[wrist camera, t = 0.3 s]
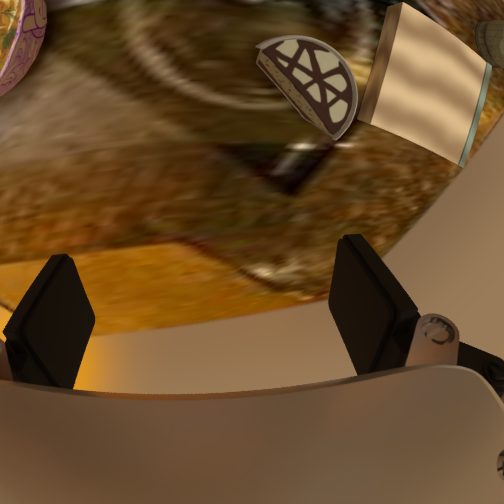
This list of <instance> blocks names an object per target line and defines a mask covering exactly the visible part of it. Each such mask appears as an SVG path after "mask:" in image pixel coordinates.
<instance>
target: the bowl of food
mask: <svg viewBox="0 0 504 504" xmlns="http://www.w3.org/2000/svg"><path fill="white" fill-rule="evenodd" d="M46 25H47V10H46V4H45V1H44V0H0V97H1V96H2V95H4V94H5V93H7V92H8V91H9V90H11V89H12V88H13V87H14V86H15V85H16V84H17V83H18V82H19V81H20V80H21V79H22V78H23V77H24V76H25V74H26V73H27V71H28V70H29V68H30V66H31V65H32V63H33V62H34V60H35V59H36V57H37V54H38V52H39V49H40V47H41V45H42V42H43V39H44V34H45V29H46Z"/></svg>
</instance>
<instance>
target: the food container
mask: <svg viewBox="0 0 504 504" xmlns="http://www.w3.org/2000/svg"><path fill="white" fill-rule="evenodd" d="M255 47H256V48H260V51H259V54H258V57H257V60H256V64H257V65H258V66H259V67H260V68H261V70H262V71H263V72H264V73H265V74H266V75H267V76H268V77H269V78H270V79H271V81H272V82H273V83H274V84H275V85H276V86H277V87H278V89H279V90H280V91H281V92H282V93H283V94H284V95H285V97H286V98H287V99H288V100H289V101H290V103H291V104H292V105H293V106H294V107H295V109H296V110H297V111H298V112H299V113H300V115H301V116H302V117H303V118H304V119H305V120H307V121H308V122H310V123H311V124H313V125H315V126H316V127H318V128H319V129H321V130H322V131H324V132H326V133H327V134H329V135H330V136H332V137H333V138H332V139H333V140H337V139H338V138H339V137H340V136H341V135H342V134H343V133H344V132H345V131H346V130H347V128H348V127H349V125H350V123H351V122H352V120H353V117H354V115H355V112H356V107H357V99H358V93H357V85H356V81H355V78H354V75H353V73H352V70H351V68H350V67H349V65H348V64H347V62H346V61H345V59H344V58H343V57H342V56H341V55H340V54H339V53H338V52H337V51H336V50H335V49H333V48H332V47H331V46H329V45H327V44H326V43H324V42H322V41H319V40H317V39H314V38H310V37H306V36H301V35H282V36H277V37H273V38H270V39H268V40H265V41H263V42H261V43H260V44H258V45H256V46H255Z"/></svg>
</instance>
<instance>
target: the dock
mask: <svg viewBox="0 0 504 504" xmlns="http://www.w3.org/2000/svg"><path fill="white" fill-rule="evenodd" d="M491 69H492V66H491V65H490V64H489V63H488V62H485V61H484V60H483V59H482V58H481V57H480V56H479V55H477V54H476V53H475V52H474V51H473V50H471V49H470V48H469V47H468V46H466V45H465V44H464V43H463V42H461V41H460V40H459V39H458V38H456V37H455V36H454V35H452V34H451V33H450V32H448V31H447V30H445V29H444V28H443V27H441V26H440V25H438V24H437V23H435V22H434V21H432V20H431V19H429V18H428V17H426V16H425V15H423V14H422V13H420V12H419V11H417V10H415V9H414V8H412V7H410V6H409V5H407V4H405V3H404V2H402V3H399V4H395V5H392V6H388V7H387V12H386V16H385V20H384V24H383V28H382V32H381V36H380V40H379V44H378V48H377V51H376V55H375V59H374V62H373V66H372V70H371V73H370V77H369V80H368V84H367V87H366V91H365V94H364V97H363V101H362V104H361V107H360V111H359V114H358V117H357V119H358V120H361V121H363V122H366V123H369V124H371V125H374V126H376V127H379V128H381V129H384V130H386V131H388V132H391V133H393V134H395V135H398V136H400V137H402V138H404V139H407V140H409V141H411V142H413V143H415V144H418V145H420V146H422V147H424V148H426V149H428V150H430V151H432V152H434V153H436V154H438V155H440V156H442V157H444V158H446V159H448V160H450V161H451V162H453V163H455V164H457V165H459V166H461V167H463V168H464V165H465V162H466V160H467V157H468V154H469V151H470V148H471V145H472V142H473V139H474V136H475V133H476V129H477V126H478V123H479V119H480V116H481V112H482V108H483V104H484V101H485V97H486V92H487V88H488V84H489V79H490V74H491Z"/></svg>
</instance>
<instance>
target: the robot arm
mask: <svg viewBox="0 0 504 504" xmlns="http://www.w3.org/2000/svg"><path fill="white" fill-rule="evenodd" d="M328 304H329V309H330V311H331V313H332V316H333V318H334V320H335V323H336V325H337V327H338V330H339V332H340V334H341V337H342V339H343V341H344V344H345V346H346V348H347V351H348V353H349V356H350V358H351V360H352V363H353V365H354V368H355V370H356V372H357V375H358V376H353V377H348V378H342V379H336V380H330V381H324V382H318V383H311V384H304V385H297V386H291V387H282V388H273V389H264V390H253V391H241V392H227V393H208V394H127V393H109V392H96V391H84V390H74V389H73V387H74V384H75V380H76V377H77V374H78V371H79V367H80V364H81V361H82V358H83V355H84V352H85V349H86V346H87V344H88V341H89V338H90V335H91V332H92V330H93V327H94V324H95V315H94V312H93V310H92V307H91V305H90V303H89V300H88V298H87V295H86V293H85V290H84V288H83V285H82V282H81V280H80V277H79V274H78V272H77V269H76V266H75V263H74V261H73V259H72V258H71V257H69V256H68V255H67V254H58V255H52V256H51V257H50V259H49V260H48V262H47V263H46V264H45V266H44V267H43V269H42V270H41V271H40V273H39V274H38V276H37V277H36V279H35V280H34V282H33V283H32V285H31V286H30V288H29V289H28V291H27V292H26V294H25V295H24V297H23V298H22V300H21V301H20V303H19V305H18V306H17V308H16V310H15V311H14V313H13V314H12V316H11V318H10V320H9V321H8V323H7V325H6V326H5V328H4V330H3V334H4V335H5V337H6V341H5V343H4V341H3V340H2V339H0V504H504V361H503V360H502V359H501V358H499V357H497V356H494V355H492V354H489V353H487V352H485V351H482V350H480V349H477V348H475V347H472V346H470V345H468V344H465V343H463V342H460V341H459V331H458V329H457V327H456V326H455V324H454V323H453V322H452V321H451V320H449V319H448V318H446V317H444V316H442V315H438V314H426V315H423V316H422V317H421V316H420V314H419V313H418V308H417V307H416V305H415V304H414V302H413V301H412V300H411V298H410V297H409V295H408V294H407V293H406V291H405V290H404V289H403V288H402V286H401V284H400V283H399V282H398V280H397V279H396V278H395V277H394V275H393V274H392V273H391V271H390V270H389V269H388V267H387V266H386V265H385V264H384V262H383V261H382V260H381V258H380V257H379V256H378V255H377V253H376V252H375V251H374V250H373V248H372V247H371V246H370V245H369V243H368V242H367V241H366V240H365V238H364V237H363V236H362V235H361V234H348V235H344V236H343V239H339V241H338V245H337V252H336V258H335V265H334V271H333V277H332V283H331V288H330V294H329V300H328Z"/></svg>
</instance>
